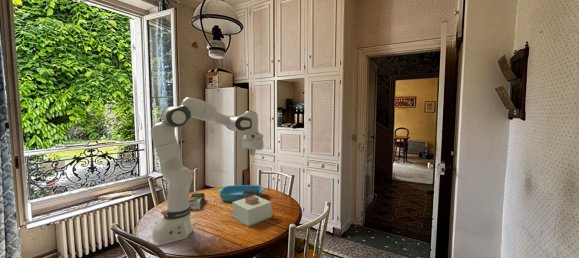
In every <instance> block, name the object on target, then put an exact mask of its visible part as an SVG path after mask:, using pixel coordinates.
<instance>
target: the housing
mask: <svg viewBox="0 0 579 258" xmlns="http://www.w3.org/2000/svg"><path fill="white" fill-rule="evenodd" d="M254 196H255V197H257V198H259V199H258V203H255V204H252V205H249V204H247V203H245V198H244V199H241V200H238V201H231V203H232V215H231V218H233V219H235V220H236V221H237V222H239V223H241V224H243V225H244V226H246V227H251V226H253V225H256V224H259V223H261V222H263V221H266V220H269V219H271V218H273V215H272V213H273V210H272V201H270V200H268V199H266V198H263V197H261V196H260V197H258V196H256V195H254Z"/></svg>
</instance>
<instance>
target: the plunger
mask: <svg viewBox="0 0 579 258" xmlns="http://www.w3.org/2000/svg"><path fill="white" fill-rule="evenodd" d="M258 199H259V198H257V197H255V196H251V197H247V198H245V203H247V204H249V205H252V204H255V203H258Z"/></svg>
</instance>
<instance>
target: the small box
mask: <svg viewBox="0 0 579 258" xmlns="http://www.w3.org/2000/svg"><path fill="white" fill-rule="evenodd" d="M254 195H256V196H258V197H259V190H245V191H244V192H243V199H244V198H247V197H251V196H254Z"/></svg>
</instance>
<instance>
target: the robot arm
mask: <svg viewBox="0 0 579 258" xmlns="http://www.w3.org/2000/svg"><path fill="white" fill-rule="evenodd" d="M190 118H194V119H198V120H200V121H205V122H215V123H217V124H221V125H223V126H225V127H226V128H227V129H228V130H230V131H237V132H238V131H239V132H242V131H245V133H244V134H243V136H242V141H241V146H242V148H245V149H248V151H249V154H250V156H255V155H256V154H255V153H256V151H262V150H263V149H264V139H263V138H264V135H263V133H261V132H259V115H258V113H257V112H256V111H253V110H247V111H245V112H244V113H242V114H241V115H230V116H229V115H226V114H223V113H221V112H218V110H217V108H216V106H215V105H214V104H211V103H210V102H207V101H205V100H202V99H198V98H194V97H185V98H184V99H183V100H182V101H181V104H180V105H179V106H173V105H172V106H166V107H165V108H164V109H163V110H162V111H161V114H160V119H159V122H157V123H155V124H154V125H153V126H151V128H150V133H151V138H152V142H153V146H154V149H155V151H156V153H157V157H158V159H159V163H160V171H161V174H162V175H161V176H162V178H163V179H164V180H165V181H166V182H168V184H169V188H168V194H167V196H166V201H167V203H166V204H167V205H166V206H167V207H166V208H167V209H166V210H164V209H163V210H161V212H160V214H161V215H162V216H163V218H161V219H160V221H159V222H157V223H156V224H154V226H153V229H152V234H149V235H148V237H147V241H148V243H149V242H150V243H152V244H154V245H156V246H155V247H160V246H163V245H167V244H170V243H173V242H178V241H181V240H185V239H188V237H189V235H190V234H192V232H194V228H193V225H192V222H191V210H190V206H189V199H190V197H189V196H190V195H189V194H190V187H191V184H192V183H193V180H194V174H193V172H192V171H191V169H189V168H188V167H186V166H184V165H183V163H182V158H181V156H182V155H181V154H182V151H181V149H180V145H179V143H178V139H177V137H176V134H175V130H176V128H181V127H183V126H185V125H186V124H187V122H188V121H189V120H190ZM150 243H149V244H150Z"/></svg>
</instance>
